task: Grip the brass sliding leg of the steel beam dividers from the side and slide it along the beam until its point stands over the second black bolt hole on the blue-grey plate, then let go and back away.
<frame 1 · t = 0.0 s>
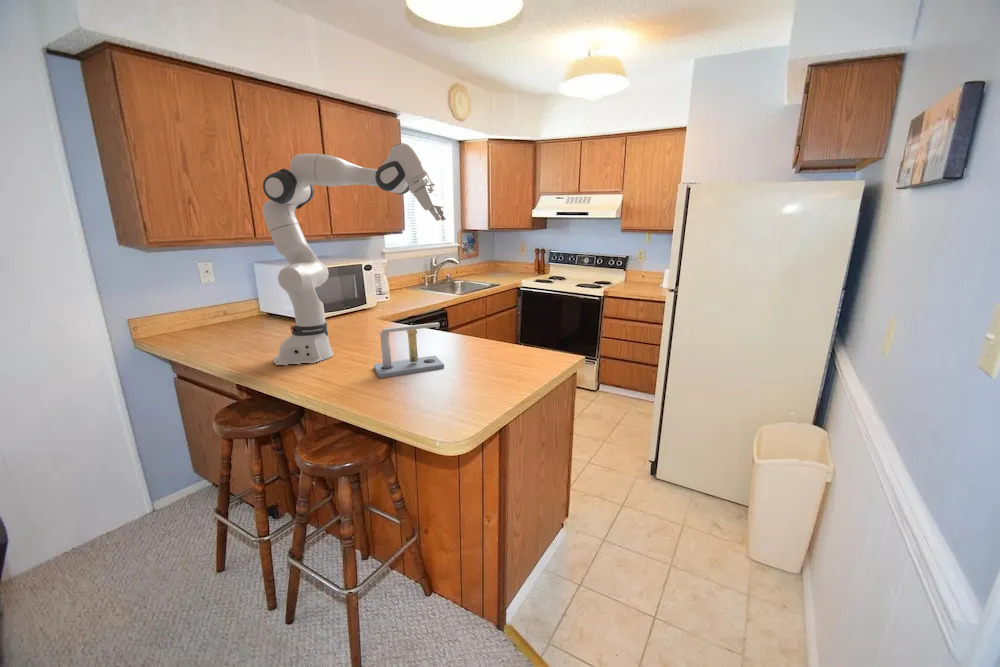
hand: (441, 220, 159), 54 cm above the table, tool tilted 30°, fingers open, 8 cm apart
bolt plate: (409, 368, 162), on the table
sliding leg: (412, 346, 161), point 8 cm above the table, slide at 10.0 cm
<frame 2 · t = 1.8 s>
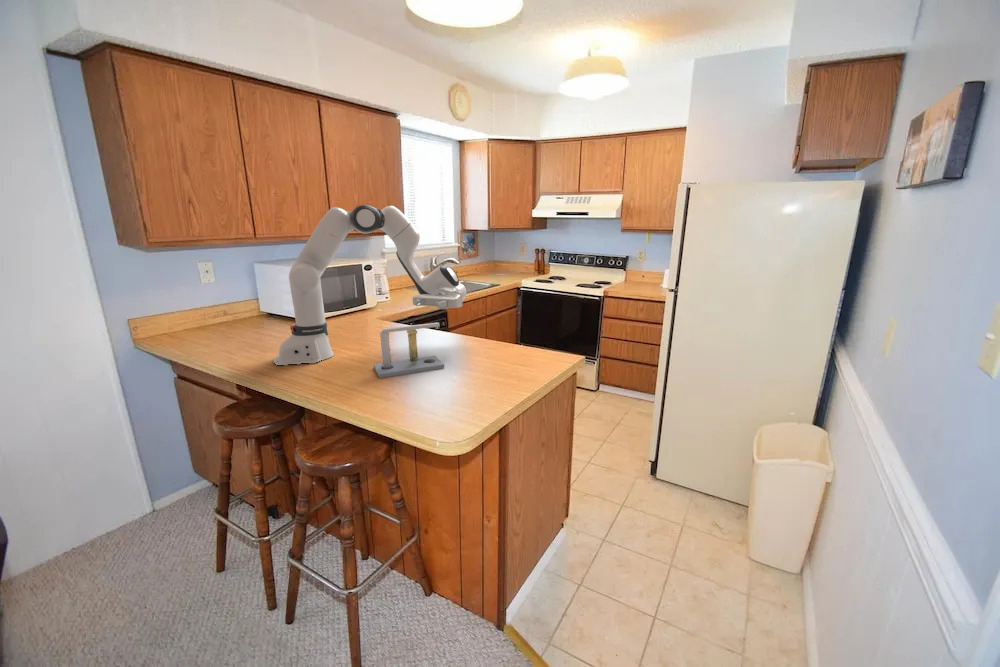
hand: (427, 304, 168), 22 cm above the table, tool horizontal, fingers open, 8 cm apart
nothing on the table moved.
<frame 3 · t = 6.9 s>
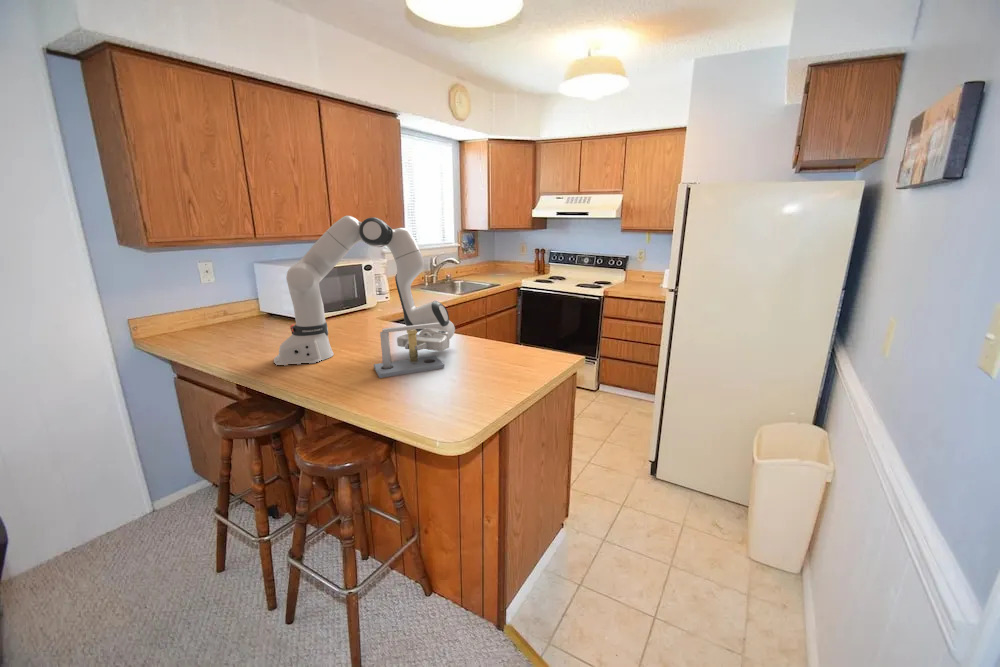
hand: (411, 347, 160), 8 cm above the table, tool horizontal, fingers closed on sliding leg, 3 cm apart
sliding leg: (412, 346, 161), point 8 cm above the table, slide at 10.0 cm, touching gripper
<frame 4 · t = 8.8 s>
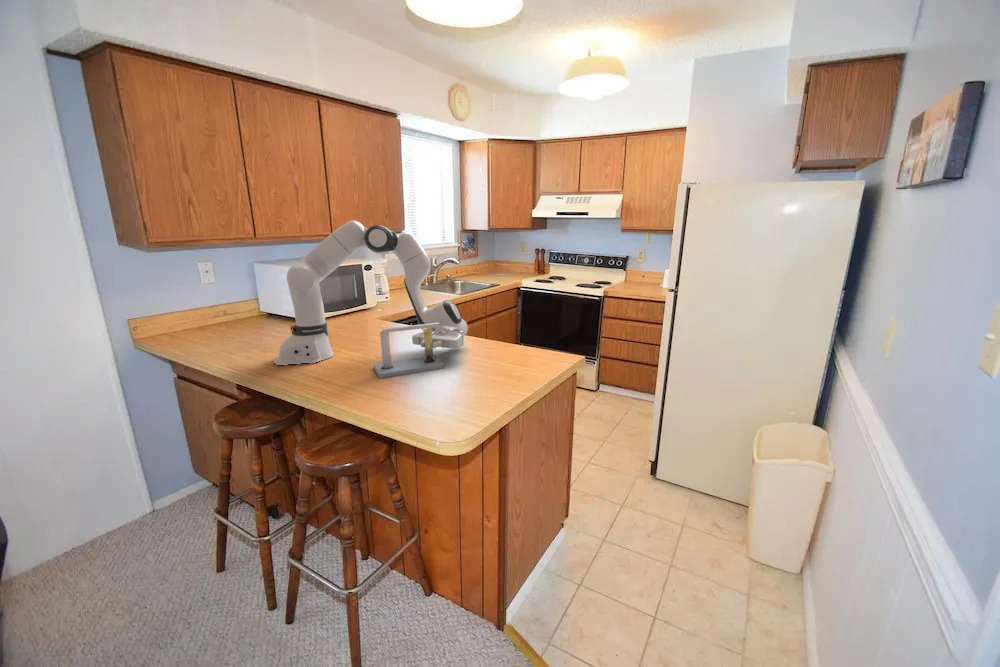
hand: (427, 345, 162), 8 cm above the table, tool horizontal, fingers closed on sliding leg, 3 cm apart
sliding leg: (428, 344, 163), point 8 cm above the table, slide at 16.0 cm, touching gripper
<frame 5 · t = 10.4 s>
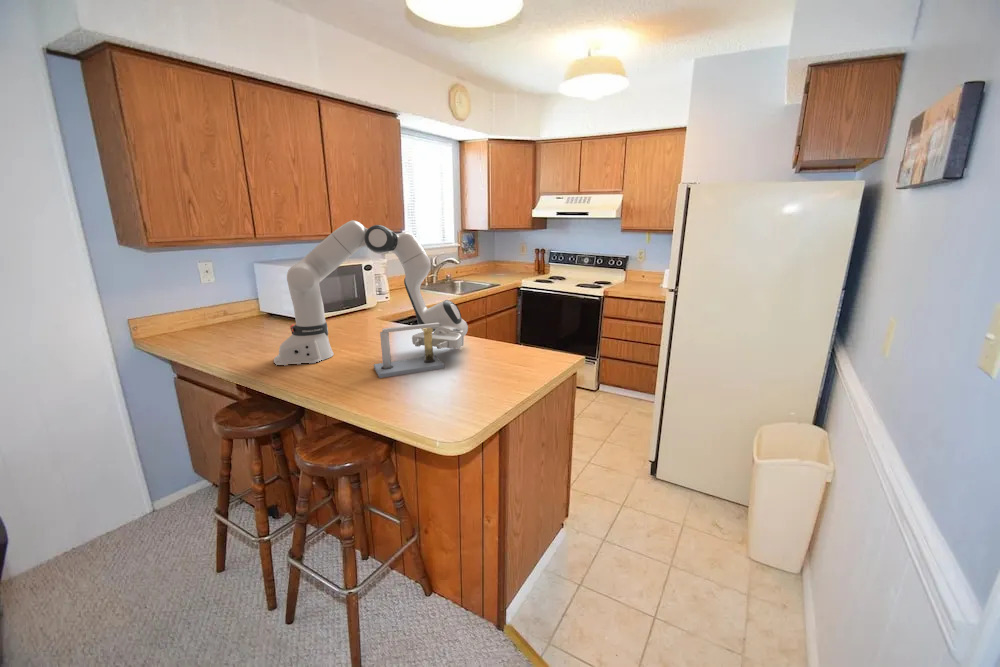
hand: (427, 345, 162), 8 cm above the table, tool horizontal, fingers open, 8 cm apart
sliding leg: (428, 344, 163), point 8 cm above the table, slide at 16.0 cm
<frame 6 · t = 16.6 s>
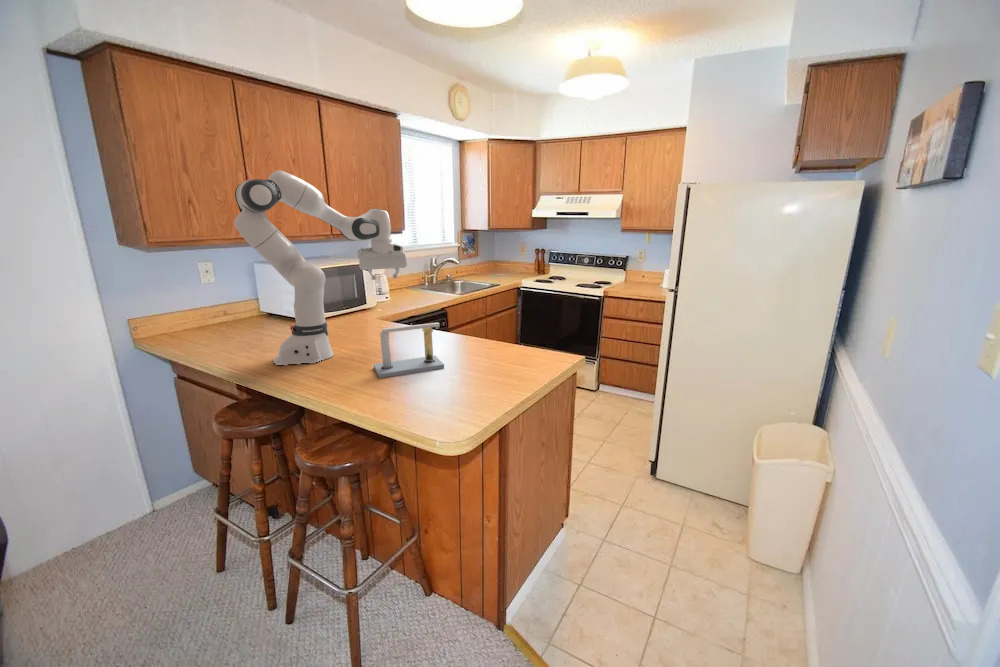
hand: (384, 279, 190), 29 cm above the table, tool pointing down, fingers open, 8 cm apart
nothing on the table moved.
at the end: sliding leg slide at 16.0 cm; the gripper is holding nothing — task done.
